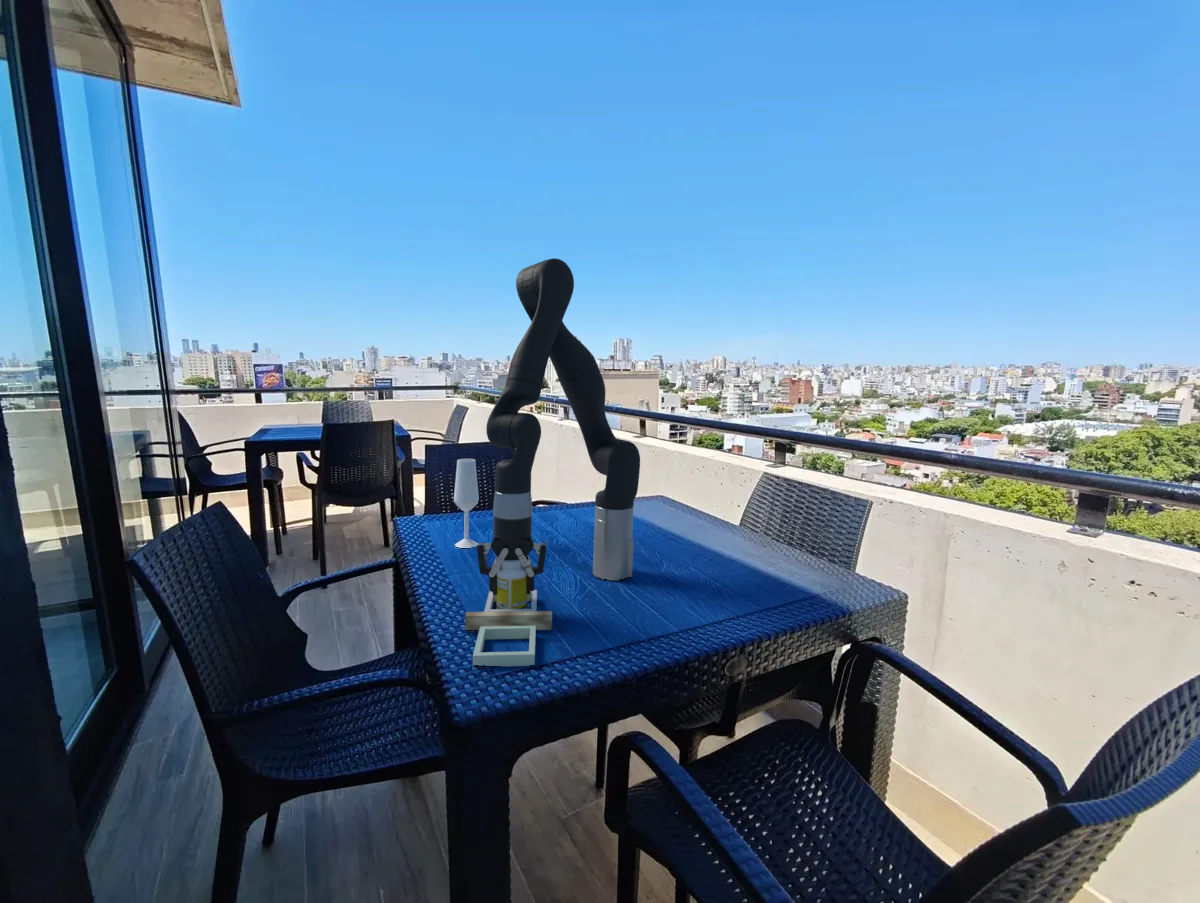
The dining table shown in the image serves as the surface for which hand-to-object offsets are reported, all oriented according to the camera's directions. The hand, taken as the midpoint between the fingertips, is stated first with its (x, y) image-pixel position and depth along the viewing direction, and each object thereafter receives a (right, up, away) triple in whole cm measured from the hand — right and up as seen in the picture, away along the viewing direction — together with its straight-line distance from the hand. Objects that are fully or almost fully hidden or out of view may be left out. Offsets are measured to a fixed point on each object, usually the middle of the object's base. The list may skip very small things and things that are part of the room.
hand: (511, 592), depth 105 cm
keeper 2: (+2, -6, -15) cm, 16 cm away
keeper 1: (0, -4, +1) cm, 4 cm away
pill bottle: (0, -4, +1) cm, 4 cm away
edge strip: (+1, -5, -7) cm, 9 cm away
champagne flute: (-19, +2, +39) cm, 44 cm away
